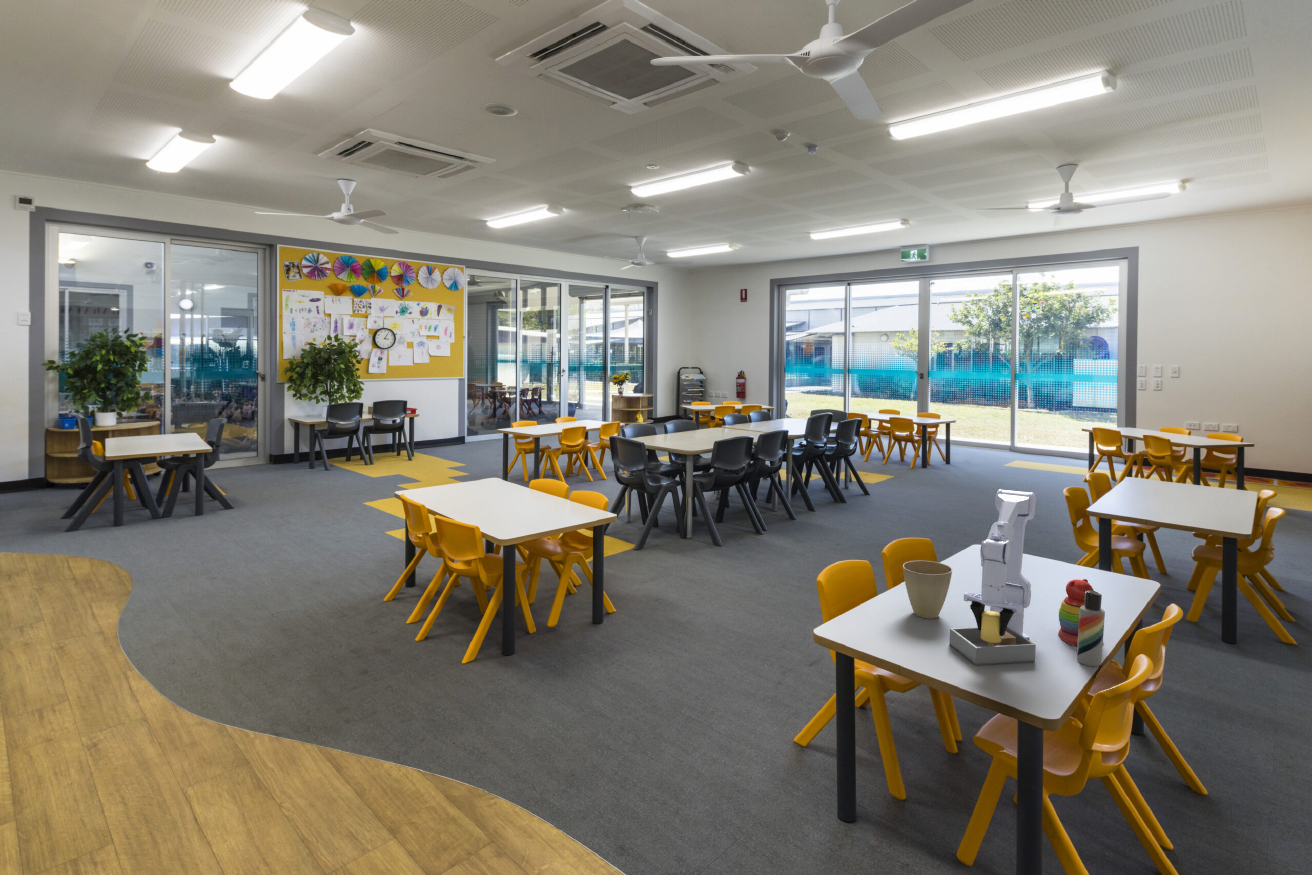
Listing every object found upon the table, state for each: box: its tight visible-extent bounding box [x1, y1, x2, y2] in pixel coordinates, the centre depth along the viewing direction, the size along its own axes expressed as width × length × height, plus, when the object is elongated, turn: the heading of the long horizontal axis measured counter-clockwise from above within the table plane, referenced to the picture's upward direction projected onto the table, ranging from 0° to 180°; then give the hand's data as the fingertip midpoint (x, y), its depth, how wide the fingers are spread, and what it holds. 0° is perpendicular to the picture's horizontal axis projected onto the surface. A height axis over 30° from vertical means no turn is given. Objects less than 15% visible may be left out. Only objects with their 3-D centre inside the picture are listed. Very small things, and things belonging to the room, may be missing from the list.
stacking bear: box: [1057, 578, 1095, 647], centre depth 197 cm, size 11×10×18 cm
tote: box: [949, 626, 1037, 666], centre depth 188 cm, size 17×13×5 cm
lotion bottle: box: [1076, 590, 1106, 667], centre depth 181 cm, size 6×6×20 cm
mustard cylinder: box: [981, 610, 1001, 643], centre depth 182 cm, size 5×5×7 cm
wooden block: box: [988, 631, 1016, 646], centre depth 188 cm, size 5×5×5 cm
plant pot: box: [902, 560, 953, 620], centre depth 216 cm, size 15×15×16 cm
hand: (991, 631), depth 182 cm, fingers closed on mustard cylinder, 5 cm apart
